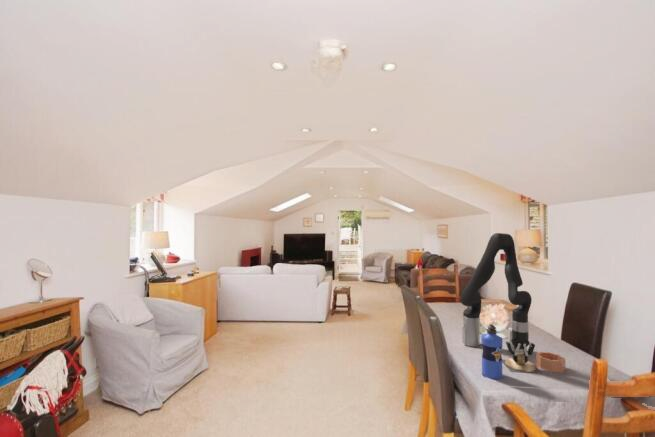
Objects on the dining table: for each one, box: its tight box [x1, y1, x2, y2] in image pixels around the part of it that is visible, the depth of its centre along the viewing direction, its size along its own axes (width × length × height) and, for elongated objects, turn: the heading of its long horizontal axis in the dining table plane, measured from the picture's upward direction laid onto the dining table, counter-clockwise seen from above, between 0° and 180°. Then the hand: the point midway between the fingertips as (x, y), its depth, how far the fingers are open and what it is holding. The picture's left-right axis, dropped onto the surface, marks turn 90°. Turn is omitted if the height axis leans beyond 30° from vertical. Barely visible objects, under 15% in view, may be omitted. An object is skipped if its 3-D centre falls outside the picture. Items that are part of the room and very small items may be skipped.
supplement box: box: [508, 327, 524, 354], centre depth 193 cm, size 7×7×13 cm
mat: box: [502, 359, 544, 375], centre depth 172 cm, size 15×15×1 cm
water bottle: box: [480, 324, 503, 380], centre depth 163 cm, size 9×9×25 cm
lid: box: [504, 353, 537, 372], centre depth 172 cm, size 14×14×6 cm
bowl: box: [535, 351, 566, 373], centre depth 171 cm, size 12×12×6 cm
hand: (520, 362), depth 172 cm, fingers closed on lid, 4 cm apart
